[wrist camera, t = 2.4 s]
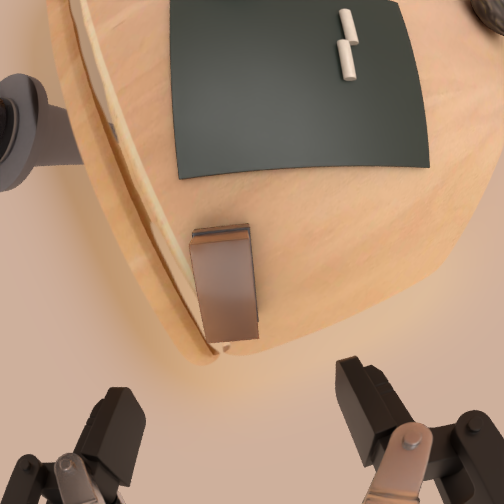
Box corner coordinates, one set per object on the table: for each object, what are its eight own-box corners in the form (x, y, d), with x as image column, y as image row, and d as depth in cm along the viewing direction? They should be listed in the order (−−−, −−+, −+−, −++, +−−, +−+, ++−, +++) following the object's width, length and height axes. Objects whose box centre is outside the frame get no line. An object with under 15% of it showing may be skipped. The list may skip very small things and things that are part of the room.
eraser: (208, 319, 27) (205, 345, 22) (194, 229, 24) (185, 242, 20) (257, 314, 27) (261, 340, 22) (248, 223, 24) (252, 235, 20)
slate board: (181, 179, 23) (178, 179, 22) (172, -5, 17) (170, -10, 16) (424, 167, 23) (430, 168, 22) (393, 6, 18) (397, 2, 17)
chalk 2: (340, 79, 19) (350, 76, 18) (333, 42, 18) (343, 38, 17) (349, 81, 20) (359, 79, 19) (342, 45, 19) (352, 41, 18)
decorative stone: (484, 2, 15) (519, -12, 5) (505, 49, 18) (545, 41, 8) (448, -18, 15) (485, -39, 5) (473, 32, 18) (518, 17, 8)
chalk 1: (361, 42, 18) (354, 46, 19) (353, 10, 17) (346, 15, 18) (351, 39, 17) (343, 44, 19) (342, 7, 16) (336, 12, 17)
